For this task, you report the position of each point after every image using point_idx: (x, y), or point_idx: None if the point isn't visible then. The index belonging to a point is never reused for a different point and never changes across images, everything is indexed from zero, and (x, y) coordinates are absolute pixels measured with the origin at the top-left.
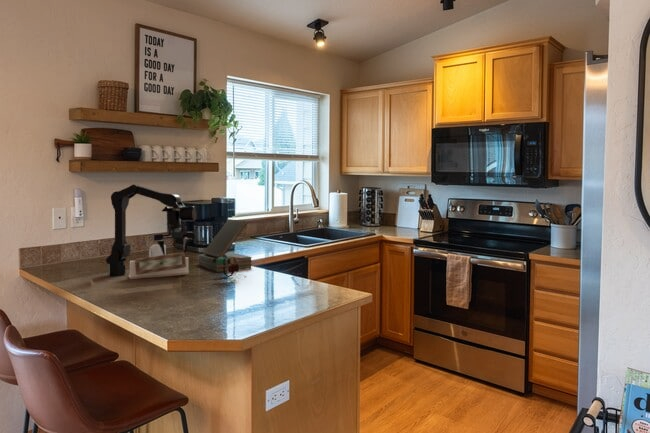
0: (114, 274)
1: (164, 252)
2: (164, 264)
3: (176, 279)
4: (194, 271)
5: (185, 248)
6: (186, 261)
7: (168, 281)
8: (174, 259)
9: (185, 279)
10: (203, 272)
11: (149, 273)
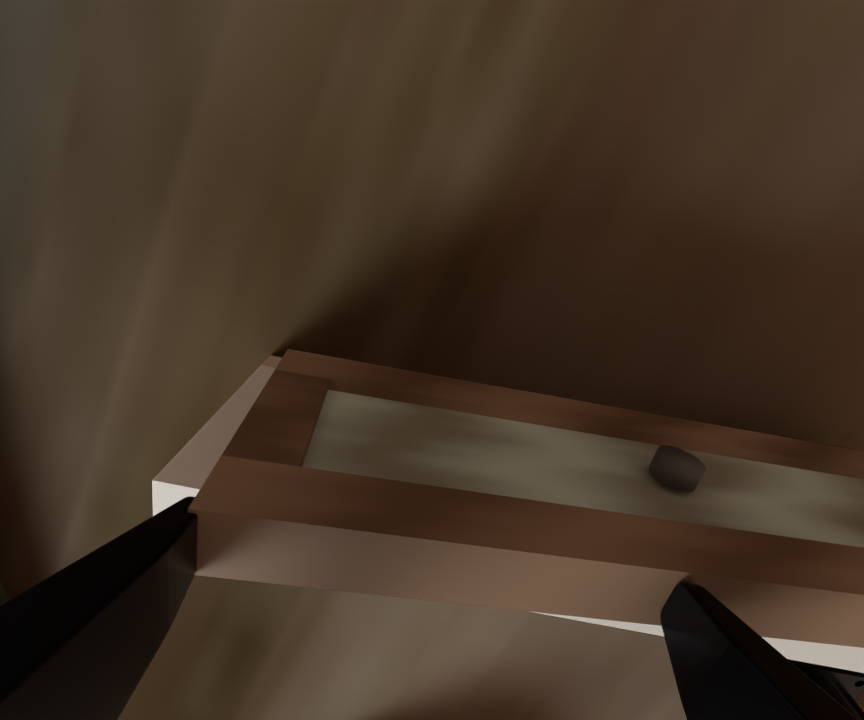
0: (837, 688)
1: (735, 635)
2: (609, 458)
3: (550, 115)
4: (151, 474)
5: (81, 593)
6: (223, 448)
7: (717, 32)
8: (454, 469)
9: (459, 16)
10: (75, 361)
11: None
